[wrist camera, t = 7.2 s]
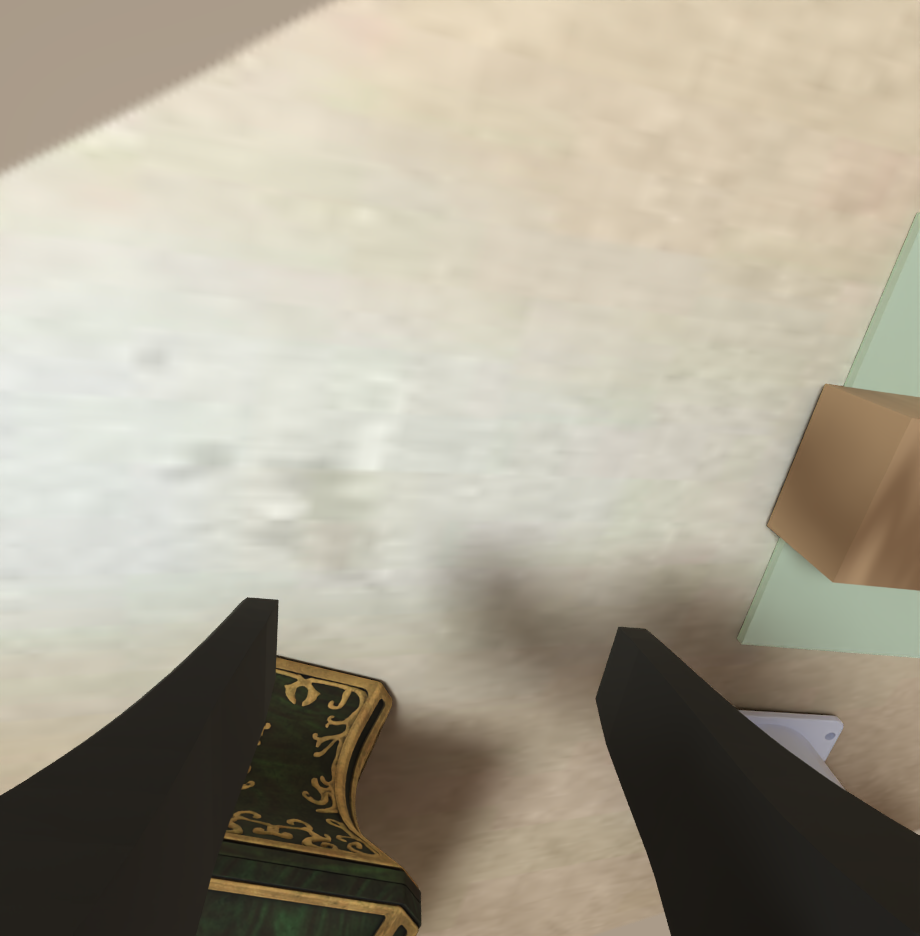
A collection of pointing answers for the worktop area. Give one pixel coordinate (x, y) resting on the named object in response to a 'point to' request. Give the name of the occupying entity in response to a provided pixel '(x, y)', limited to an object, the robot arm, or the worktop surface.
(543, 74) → the worktop surface
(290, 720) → the decorative box
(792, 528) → the tan rectangular block
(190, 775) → the robot arm
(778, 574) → the green pad
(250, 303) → the worktop surface
